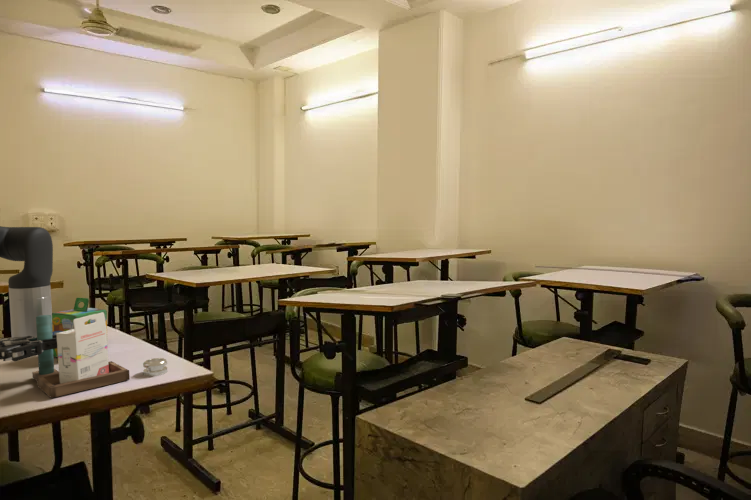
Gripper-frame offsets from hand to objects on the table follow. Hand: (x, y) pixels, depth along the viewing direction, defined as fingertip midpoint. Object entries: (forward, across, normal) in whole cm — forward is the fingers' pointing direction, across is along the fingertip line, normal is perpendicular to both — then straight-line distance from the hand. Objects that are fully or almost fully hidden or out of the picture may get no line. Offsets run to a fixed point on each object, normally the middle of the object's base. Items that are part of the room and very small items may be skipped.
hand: (59, 340), depth 109 cm
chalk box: (+9, +16, +8) cm, 20 cm away
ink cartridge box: (+2, -10, +8) cm, 13 cm away
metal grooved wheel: (+15, -14, +8) cm, 22 cm away
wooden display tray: (+2, -6, +8) cm, 10 cm away
